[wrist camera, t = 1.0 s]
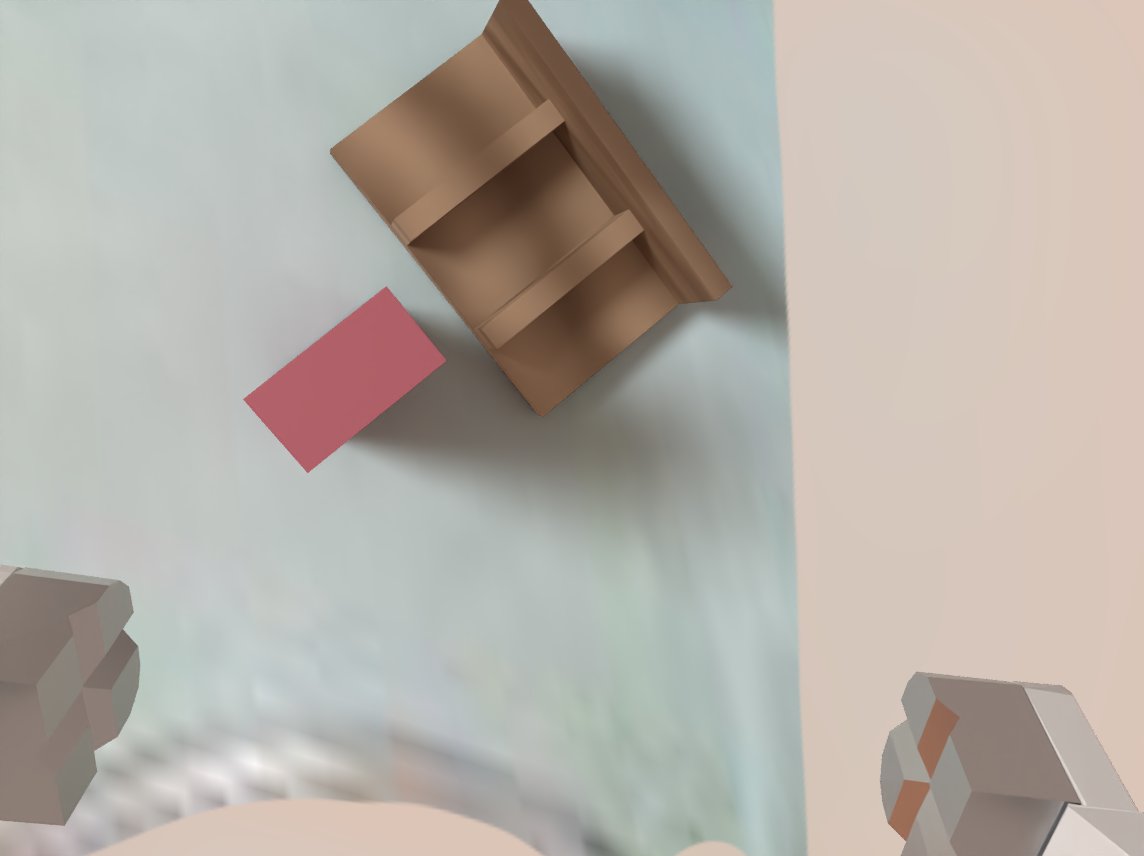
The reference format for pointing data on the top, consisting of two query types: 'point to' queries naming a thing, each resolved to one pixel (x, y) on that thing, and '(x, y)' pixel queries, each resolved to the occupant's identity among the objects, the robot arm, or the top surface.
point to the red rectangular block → (345, 379)
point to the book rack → (529, 208)
